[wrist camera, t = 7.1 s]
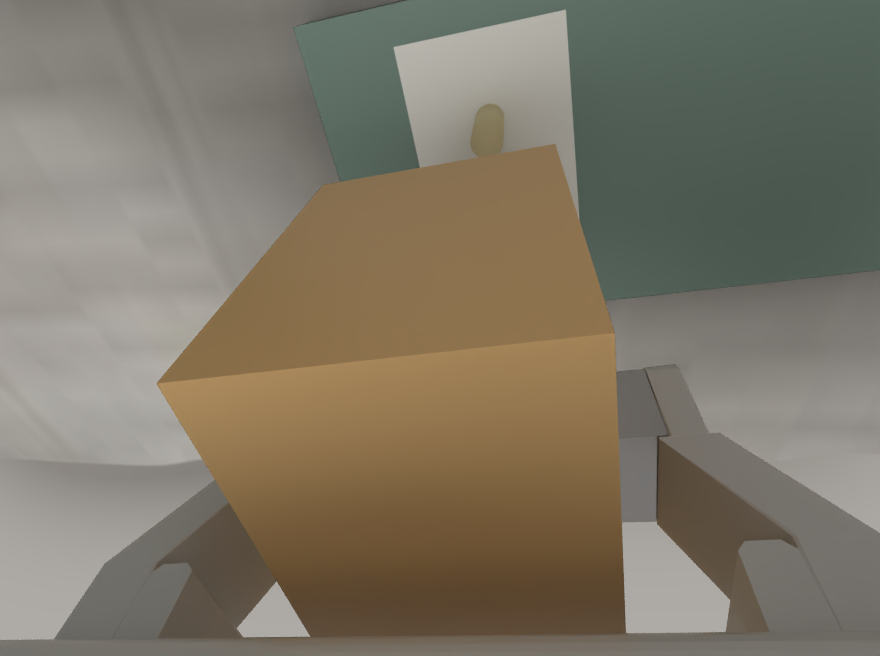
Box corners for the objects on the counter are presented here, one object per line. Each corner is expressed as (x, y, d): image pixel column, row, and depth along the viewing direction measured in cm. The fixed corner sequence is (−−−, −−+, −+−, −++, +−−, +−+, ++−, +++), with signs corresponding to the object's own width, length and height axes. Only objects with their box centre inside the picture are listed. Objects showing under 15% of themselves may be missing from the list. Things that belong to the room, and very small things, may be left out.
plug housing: (555, 143, 9) (614, 333, 4) (584, 481, 13) (630, 761, 8) (323, 185, 9) (155, 383, 5) (421, 491, 14) (382, 753, 9)
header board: (1046, -151, 15) (1230, -190, 11) (925, 244, 21) (1015, 305, 17) (306, 23, 19) (257, 38, 15) (390, 307, 26) (369, 367, 22)
